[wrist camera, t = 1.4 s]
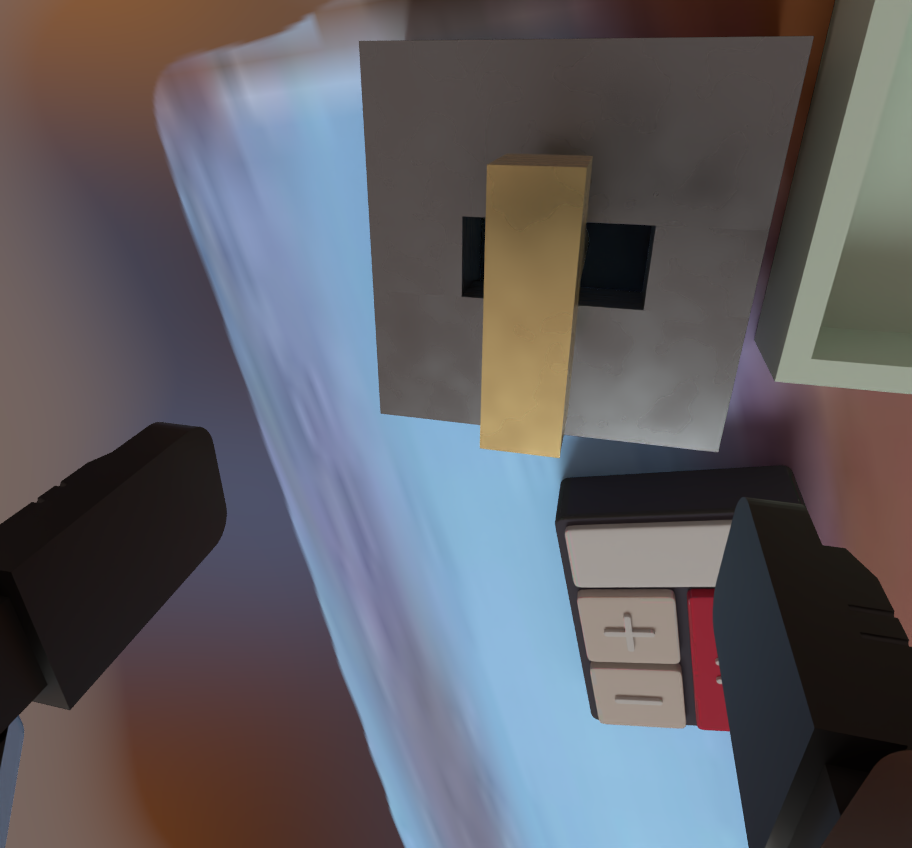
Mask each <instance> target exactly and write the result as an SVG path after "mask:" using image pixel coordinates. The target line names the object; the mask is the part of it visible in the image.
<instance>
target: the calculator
mask: <svg viewBox="0 0 912 848" xmlns="http://www.w3.org/2000/svg"><path fill="white" fill-rule="evenodd" d="M742 497H748V498H756V499H764V500H772V501H780V502H788V503H796V504H802V505H804V506H805V503H804V500H803V498H802V495H801V493H800V490H799V488H798V485H797V482H796V480H795V477H794V475H793V472H792V470H791V469H790V468H789V467H787V466H762V467H745V468H728V469H711V470H694V471H676V472H659V473H642V474H625V475H608V476H591V477H574V478H566V479H564V480H563V481H562V482H561V485H560V492H559V499H558V505H557V512H556V520H555V526H556V532H557V537H558V542H559V548H560V553H561V558H562V563H563V569H564V574H565V579H566V584H567V589H568V595H569V600H570V605H571V610H572V615H573V621H574V626H575V631H576V636H577V642H578V647H579V652H580V657H581V662H582V668H583V673H584V678H585V683H586V689H587V694H588V699H589V704H590V709H591V714H592V716H593V717H594V718H595V719H598V720H599V721H600V722H601V723H603V724H613V725H630V726H647V727H664V728H684V727H685V726H686V725H696V726H698V728H699V729H702V730H715V731H730V729H729V723H728V717H727V710H726V704H725V698H724V692H723V686H722V680H721V673H720V667H719V661H718V655H717V649H716V643H715V636H714V630H713V598H714V591H715V585H716V581H717V577H718V573H719V569H720V565H721V562H722V558H723V554H724V550H725V546H726V542H727V538H728V535H729V531H730V527H731V523H732V519H733V515H734V512H735V508H736V506H737V503H738V501H739V500H740V498H742ZM805 507H806V506H805ZM806 509H807V508H806Z"/></svg>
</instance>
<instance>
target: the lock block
mask: <svg viewBox="0 0 912 848" xmlns="http://www.w3.org/2000/svg"><path fill="white" fill-rule="evenodd" d="M813 38H814V36H779V37H687V38H595V39H502V40H410V41H359V51H360V68H361V85H362V102H363V119H364V136H365V153H366V170H367V188H368V205H369V222H370V239H371V256H372V273H373V290H374V307H375V324H376V342H377V359H378V376H379V393H380V410H381V414H390V415H398V416H407V417H416V418H424V419H433V420H442V421H450V422H459V423H468V424H476V425H480V423H481V383H482V343H483V303H484V281H483V280H480V244H481V217H486V183H487V164H489V163H491V162H492V161H494V160H496V159H498V158H500V157H502V156H503V155H505V154H507V153H510V154H548V155H586V156H593V160H592V170H591V180H590V190H589V201H588V211H587V221H586V222H592V223H613V224H634V225H652V227H651V234H650V241H649V248H648V255H647V262H646V269H645V276H644V283H643V290H642V291H630V290H615V289H601V288H586V287H580V293H579V303H578V314H577V324H576V334H575V344H574V355H573V365H572V375H571V385H570V396H569V406H568V415H567V420H566V426H565V431H564V435H571V436H580V437H589V438H597V439H606V440H615V441H623V442H632V443H641V444H649V445H658V446H666V447H675V448H684V449H692V450H701V451H710V452H718V450H719V446H720V442H721V437H722V433H723V429H724V424H725V420H726V416H727V411H728V407H729V403H730V398H731V394H732V390H733V385H734V381H735V377H736V372H737V368H738V364H739V359H740V355H741V351H742V346H743V342H744V338H745V333H746V329H747V325H748V320H749V316H750V311H751V307H752V303H753V298H754V294H755V290H756V285H757V281H758V277H759V272H760V268H761V264H762V259H763V255H764V251H765V246H766V242H767V238H768V233H769V229H770V225H771V220H772V216H773V212H774V207H775V203H776V199H777V194H778V190H779V186H780V181H781V177H782V173H783V168H784V164H785V159H786V155H787V151H788V146H789V142H790V138H791V133H792V129H793V125H794V120H795V116H796V112H797V107H798V103H799V99H800V94H801V90H802V86H803V81H804V77H805V73H806V68H807V64H808V60H809V55H810V51H811V47H812V42H813Z"/></svg>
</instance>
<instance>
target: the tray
mask: <svg viewBox="0 0 912 848" xmlns="http://www.w3.org/2000/svg"><path fill="white" fill-rule="evenodd" d="M754 341H755V343H756V345H757V347H758V349H759V351H760V353H761V355H762V357H763V359H764V361H765V363H766V365H767V367H768V369H769V371H770V373H771V375H772V377H773V379H774V381H775V382H786V383H796V384H807V385H818V386H829V387H840V388H851V389H861V390H872V391H883V392H894V393H905V394H912V0H835V3H834V8H833V12H832V16H831V20H830V24H829V29H828V33H827V37H826V41H825V45H824V50H823V54H822V58H821V62H820V66H819V71H818V75H817V79H816V83H815V87H814V92H813V96H812V100H811V104H810V108H809V113H808V117H807V121H806V125H805V129H804V133H803V138H802V142H801V146H800V150H799V154H798V159H797V163H796V167H795V171H794V175H793V180H792V184H791V188H790V192H789V196H788V201H787V205H786V209H785V213H784V217H783V222H782V226H781V230H780V234H779V238H778V243H777V247H776V251H775V255H774V259H773V264H772V268H771V272H770V276H769V280H768V285H767V289H766V293H765V297H764V301H763V305H762V310H761V314H760V318H759V322H758V326H757V331H756V335H755V339H754Z"/></svg>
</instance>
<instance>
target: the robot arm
mask: <svg viewBox="0 0 912 848" xmlns="http://www.w3.org/2000/svg"><path fill="white" fill-rule="evenodd" d="M226 517H227V510H226V503H225V498H224V493H223V488H222V483H221V479H220V473H219V469H218V464H217V459H216V454H215V449H214V444H213V440H212V438H211V435H210V434H209V432H208V431H207V430H206V429H204V428H202V427H196V426H188V425H179V424H172V423H164V422H156V423H153V424H151V425H149V426H148V427H146V428H145V429H144V430H142V431H141V432H139V433H138V434H137V435H136V436H134V437H132V438H131V439H130V440H128V441H127V442H125V443H124V444H123V445H121V446H120V447H119V448H117V449H116V450H114V451H113V452H111V453H109V454H107V455H104V456H102V457H100V458H98V459H95V460H93V461H91V462H88V463H87V464H85V465H84V466H82V467H81V468H80V469H78V470H77V471H75V472H74V473H72V474H71V475H70V476H68V477H67V478H65V479H64V480H62V481H61V484H60V486H54V487H53V488H51V489H50V490H48V491H47V492H45V493H44V494H43V495H41V496H40V497H38V501H37V503H34V502H31V503H30V504H28V505H27V506H26V507H24V508H23V509H22V510H20V511H19V512H17V513H16V514H14V515H13V516H12V517H10V518H9V519H7V520H6V521H4V522H3V523H1V524H0V848H5V844H6V839H7V833H8V827H9V821H10V815H11V808H12V803H13V798H14V792H15V786H16V779H17V773H18V768H19V762H20V756H21V750H22V743H23V739H24V727H23V723H22V721H21V719H20V717H19V714H20V713H21V712H22V711H23V710H24V709H25V708H26V707H27V706H28V705H29V704H30V703H31V702H32V701H34V702H38V703H42V704H46V705H51V706H54V707H58V708H63V709H67V710H71V708H72V707H73V706H74V705H75V704H76V703H77V702H78V701H79V699H80V698H81V697H82V696H83V695H84V694H85V693H86V692H87V690H88V689H89V688H90V687H91V686H92V685H93V684H94V682H95V681H96V680H97V679H98V678H99V677H100V675H102V673H103V672H104V671H105V670H106V669H107V668H108V667H109V665H110V664H111V663H112V662H113V661H114V660H115V659H116V658H117V657H118V655H119V654H120V653H121V652H122V651H123V650H124V649H125V648H126V646H127V645H128V644H129V643H130V642H131V641H132V639H134V637H135V636H136V635H137V634H138V633H139V632H140V631H141V629H142V628H143V627H144V626H145V625H146V624H147V623H148V621H149V620H150V619H151V618H152V617H153V616H154V615H155V614H156V612H157V611H158V610H159V609H160V608H161V607H162V606H163V605H164V604H165V602H166V601H167V600H168V599H169V598H170V597H171V596H172V595H173V593H174V592H175V591H176V590H177V589H178V588H179V587H180V585H181V584H182V583H183V582H184V581H185V580H186V579H187V578H188V576H189V575H190V574H191V573H192V572H193V571H194V570H195V569H196V567H197V566H198V565H199V564H200V563H201V562H202V561H203V560H204V558H205V557H206V556H207V555H208V554H209V553H210V552H211V550H212V549H213V548H214V547H215V546H216V545H217V543H218V541H219V540H220V538H221V536H222V534H223V531H224V528H225V524H226ZM713 630H714V636H715V643H716V649H717V655H718V661H719V667H720V673H721V680H722V686H723V692H724V698H725V704H726V710H727V717H728V723H729V729H730V735H731V741H732V747H733V753H734V760H735V766H736V772H737V778H738V784H739V790H740V797H741V803H742V809H743V815H744V821H745V827H746V834H747V840H748V846H749V848H912V647H909V645H908V641H909V639H908V637H907V635H906V633H905V631H904V629H903V627H902V625H901V623H900V621H899V619H898V618H894V610H893V608H892V606H891V604H890V602H889V600H888V598H887V596H886V594H885V592H884V590H883V588H882V586H881V584H880V582H879V580H878V578H877V577H875V576H874V575H873V574H872V573H871V572H870V571H869V570H868V569H867V568H866V567H865V566H864V565H863V564H862V563H860V562H859V561H858V560H857V559H856V558H855V557H854V556H853V555H852V554H851V553H850V552H849V551H848V550H847V549H845V548H838V547H831V546H824V545H822V543H821V541H820V539H819V536H818V534H817V532H816V529H815V527H814V525H813V522H812V520H811V518H810V515H809V513H808V511H807V509H806V507H805V506H804V505H802V504H796V503H788V502H780V501H772V500H764V499H756V498H748V497H742V498H740V500H739V501H738V503H737V506H736V508H735V512H734V515H733V519H732V523H731V527H730V531H729V535H728V538H727V542H726V546H725V550H724V554H723V558H722V562H721V565H720V569H719V573H718V577H717V581H716V585H715V591H714V598H713Z"/></svg>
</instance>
